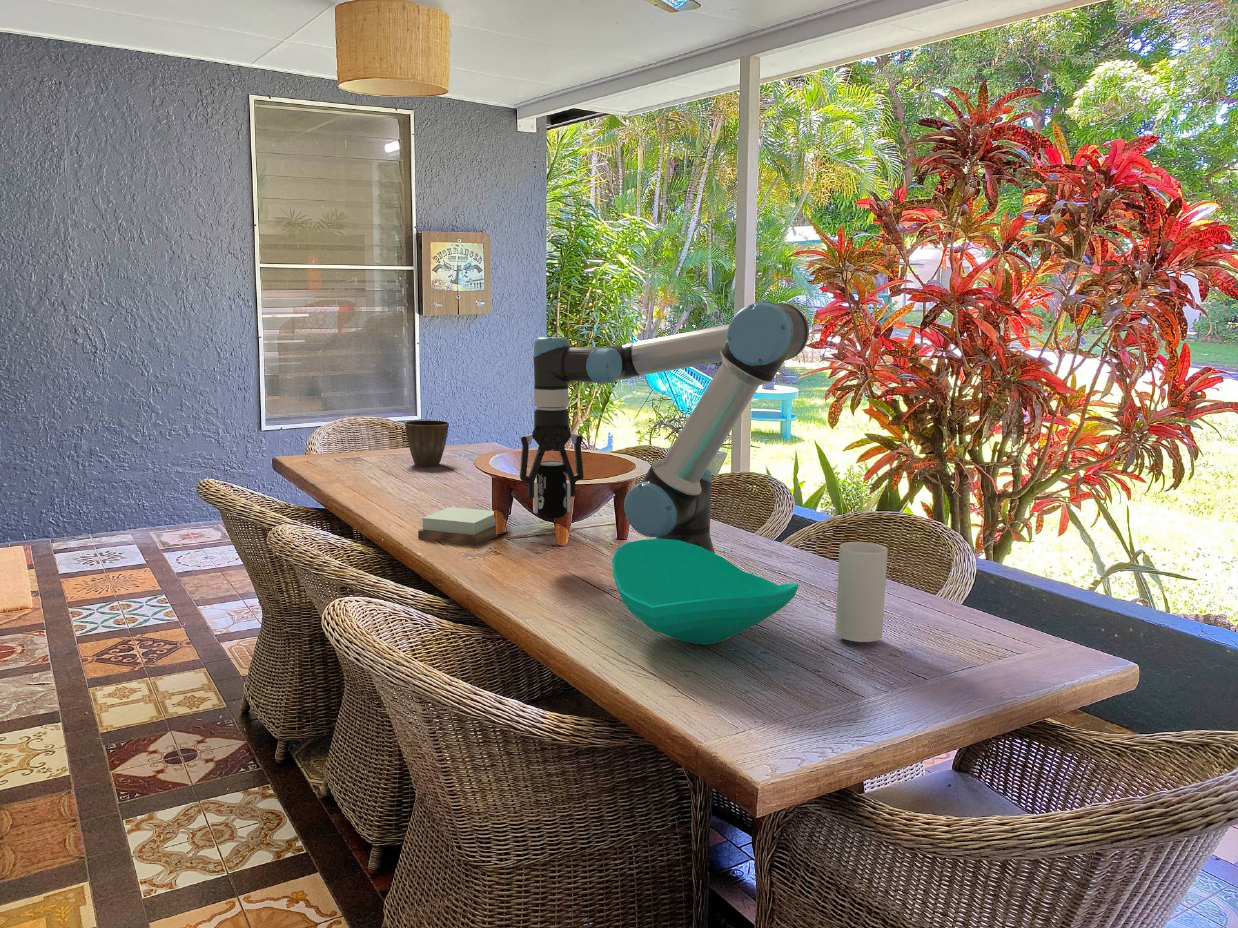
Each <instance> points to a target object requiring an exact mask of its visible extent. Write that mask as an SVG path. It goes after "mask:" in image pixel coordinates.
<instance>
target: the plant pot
mask: <svg viewBox="0 0 1238 928" xmlns="http://www.w3.org/2000/svg"><path fill="white" fill-rule="evenodd" d="M449 425H450V423H449V422H448V421H444V420H431V419H430V420H428V419H426V420H424V419H423V420H409V421H405V422H404V426H405V434H406V439H407V445H408V447H409V451H410V454H411V458H412V461H413V463H414V466H416V467H419V468H434V467H438V465H439V466H440V464H441V461H442V458H443V455H444V451H445V448H446V444H447V443H446V442H447V439H448V433H449V428H450V427H449Z"/></svg>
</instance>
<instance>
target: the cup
mask: <svg viewBox="0 0 1238 928" xmlns="http://www.w3.org/2000/svg"><path fill="white" fill-rule="evenodd" d="M838 554H839V555H838V571H837V572H838V574H837V585H836V586H837V590H836V591H837V592H836V608H835V621H834V622H835V623H834V625H835V626H834V633H835V635H836V636H837V637H839V638H841V639H843V640H847V641H850V642H856V643H857V642H858V643H870V642H871V643H872V642H877V641H879V640H881V639H883V629H884V628H883V627H884V616H885V614H884V612H885V599H886V598H885V597H886V584H887V583H886V582H887V581H886V580H887V569H888V567H887V566H888V548H887V547H886V546H885V545H881V544H877V543H873V542H868V541H867V542H866V541H847V542H843V543H841V544H840V545H839V552H838Z"/></svg>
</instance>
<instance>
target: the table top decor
mask: <svg viewBox="0 0 1238 928" xmlns="http://www.w3.org/2000/svg"><path fill="white" fill-rule="evenodd" d="M611 563H612V576H613V579H614V583H615V586H616V588H617V591H618V593H619V596H620V598H621V602H622V603H623V604H624V605H625V607H626V608H627V610H628V611H629V612H630V613H631V614H632V615H634V616H635V617H636V618H637V619H638V620H640V621H641V622H642V623H643V624H645V625H646V626H648V628H650V630H652V631H655V632H657V633H659V634H661V635H664V636H667V637H670V638H672V639H674V640H676V641H677V640H678V641H681V642H687V643H691V644H695V645H696V644H697V645H712V644H718V643H722V642H725V641H726V640H728V639H730V638H732V637H734V636H735V635H738V634H740V633H742V632H744V631H746V630H747V629H749V628H752V627H753V626H755V625H757V624H759V623H761V622H763V621H764V620H766V619H767V618H768V617H771V616H772V615H773V614H775V613H777V612H778V611H780V610H781V609H783V608H784V607H785V606H786V605H787V604H788V603H789V602H791V601H792V599H794V598H795V597H796V593H797V591H798V589H799V584H798V583H799V582H790V583H784V584H783V583H782V584H777V583H774V581H773V582H772V581H770V580H768V579H765V578H764V577H761V576H758V575H755V574H753V573H749V572H746V571H745V570H744V571H743V569H741V568H739V567H737V566H736V565H735V564H733V563H732V562H731V561H729V560H727V559H726V558H725V557H722V556H720V555H718V554H717V553H716V552H715V553H713V552H710V551H708V550H706V549H704V548H702V547H700V546H696V545H693V544H690V543H686V542H683V541H680V540H669V539H656V538H649V539H647V538H646V539H638V540H634V541H629V542H627V543H625V544H623V545H621V546H620V547H617V548H616V550H615V553H614V555H613V557H612V560H611Z"/></svg>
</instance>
